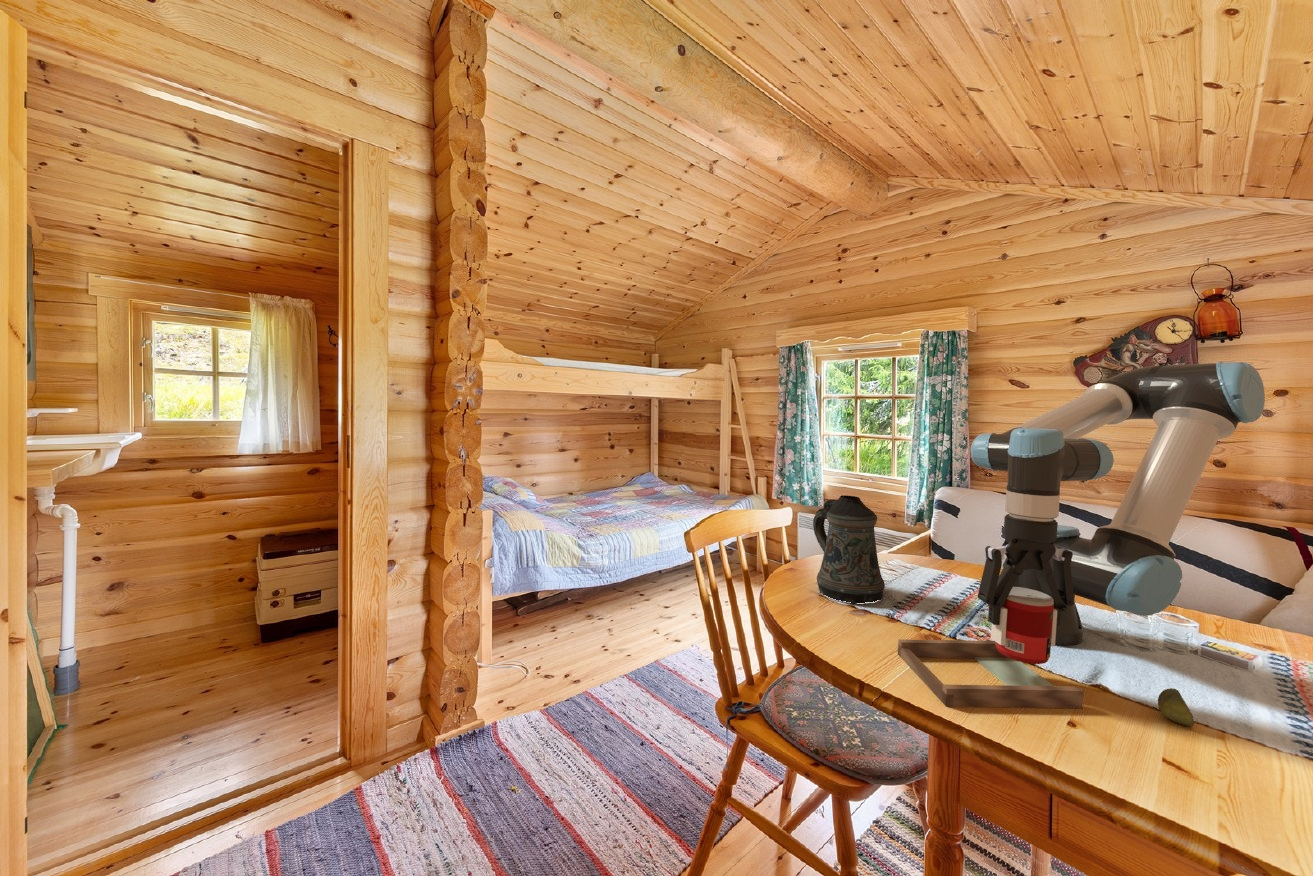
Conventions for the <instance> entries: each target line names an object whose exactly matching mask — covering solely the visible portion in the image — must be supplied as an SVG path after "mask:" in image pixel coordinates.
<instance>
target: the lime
mask: <svg viewBox="0 0 1313 876" xmlns="http://www.w3.org/2000/svg"><path fill="white" fill-rule="evenodd" d="M1157 705H1158V710H1159V711H1160V712H1161V714H1163V715H1164V717H1166V718H1168V719H1169V720H1171V721H1173V722H1175V723H1177V724H1179V723H1180V724H1179V725H1181V724H1182V725H1181V726H1185V725H1186V727H1193V726H1195V720H1194V715H1193V714H1192V712H1191V710H1190V709H1189V707H1188V704H1187V703H1186V701H1185V700H1184V698H1183V696H1182V694H1181V692H1180V691H1179V690H1178V689H1177V688H1170V687H1169V688H1165V689H1164V690H1162V691H1161V692H1160V694H1159V695H1158V698H1157Z"/></svg>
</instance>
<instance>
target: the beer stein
mask: <svg viewBox="0 0 1313 876" xmlns="http://www.w3.org/2000/svg"><path fill="white" fill-rule="evenodd" d="M826 520H827V522H828V530H827V533H826V529H825V521H826ZM877 521H878V516H877V515H876V513H875V512H874V511H873V510H872V509H871V508H870V507H868V506H866V505H865V504H864V502H862V500H861V498H860V497H859V496H855V495H854V496H853V495H844V494H843V495H839V497H838V498H837V499H827V500H826V501H825V502H824V503H823V508H819V509H818V510H817V511H816V512H815V515H814V517H813V521H812V528H813V533H814V535H815V539H816V541H817V543H818V545H819V547H820V548H821V549H822V551H823V556H822V561H821V563H820V564H821V565H820V568H819V571H818V572H817V575H816V583H817V587H818V591H820V592H821V593H822V594H823V595H822V594H821V593H820V592H819V593H820V594H821V595H822V596H824V595H826V596H828V597H830V598H833V599H836V600H841V601H846V602H851V603H865V602H873V601H874V602H875V601H877V600H881V599H882V598H883V597H884V590H885V587H886V584H885V581H884V579H883V577H882V574H881V569H880V564H879V558H878V551H877V544H876V535H875V526H876V524H877ZM826 596H825V597H826ZM830 598H829V599H830ZM833 599H832V600H833ZM836 600H835V601H836ZM881 601H882V600H881Z"/></svg>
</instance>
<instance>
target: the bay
mask: <svg viewBox="0 0 1313 876" xmlns="http://www.w3.org/2000/svg"><path fill="white" fill-rule="evenodd" d="M897 642H898V643H897V644H898V645H897V655H898V656H899V657H900V658H901V659H902V660H903V661H904V663H905V664H906V665H907V666H908V667H909V668H910V670H912V671H913V672H914V673H915V675H917V677H918V678H919V679H920V680H921V681H922V682H923V683H924V685H926V686H927V687H928V688H929V690H930V691H931V692H932V693H933V694H934V695H935V696H936V698H938V699H939V701H940V702H941V703H942V704H943V705H944V706H945V707H960V708H961V707H963V708H964V707H965V708H966V707H967V708H968V707H969V708H970V707H971V708H975V707H976V708H982V707H983V708H1019V709H1020V708H1026V709H1027V708H1028V709H1029V708H1030V709H1032V708H1034V709H1035V708H1036V709H1081V710H1082V709H1083V704H1084V694H1085V693H1084V690H1083V689H1082V688H1081V687H1079V686H1064V685H1063V686H1060V685H1059V686H1057V685H1053V684H1052V683H1051V682H1049V681H1048V680H1047V679H1045V678H1044V677H1043V676H1041V675H1040V674H1039V673H1037V672H1036V671H1034V670H1033V669H1031V668H1030V667H1029V666H1027V665H1026V664H1025V663H1024V662H1020V661H1017V660H1014V659H1011V658H1009V657H1006V656H1004V655H1003V654H1001V653H1000V652H999V651H998V650H997V648H996V645H995V641H994V640H967V639H966V640H965V639H964V640H963V639H962V640H959V639H957V640H956V639H955V640H954V639H949V640H948V639H900V638H899V639H898V641H897ZM920 658H921V659H923V658H925V659H926V658H927V659H932V658H934V659H935V658H936V659H974V660H975V662H977V663H978V664H979V665H981V666H982V667H983V668H985V670H987V671H988V672H989V673H990V674H991V675H993V676H994V677H996V678H997V680H999V682H1002V685H1000V684H999V685H998V684H944V683H943V682H942V681H941V679H939V678H938V677H937V676H936V675H935V674H934V673H933V672H932V671H931V670H930V669H929V668H928V667H927V666H926V665H925V664H924V662H922V661H921V659H920ZM1003 684H1004V685H1003Z"/></svg>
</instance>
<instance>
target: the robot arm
mask: <svg viewBox="0 0 1313 876" xmlns="http://www.w3.org/2000/svg"><path fill="white" fill-rule="evenodd" d="M1265 393H1266V392H1265V387H1264V382H1263V380H1262V377H1261V375H1260V373H1259V371H1258V369H1256V368H1255V367H1254V366H1253V365H1252V364H1250V363H1247V362H1243V361H1237V362H1236V361H1235V362H1234V361H1233V362H1232V361H1230V362H1225V361H1217V362H1214V363H1213V362H1212V363H1210V362H1209V363H1208V362H1207V363H1191V364H1190V363H1189V364H1186V363H1185V364H1167V365H1150V366H1144V367H1143V366H1142V367H1140V368H1139V367H1138V368H1135V369H1132V370H1128V371H1125V372H1122V373H1119V374H1117V375H1113V376H1111V377H1109V378H1106V379H1104V380H1101V381H1099V382H1097V383H1095V384H1092V385H1091V386H1089V387H1087V389H1085V391H1084V392H1083V394H1082V395H1081V396H1079V397H1077V398H1074V399H1073V400H1070V401H1069V402H1066V403H1063V404H1061V405H1060V406H1058V407H1055V408H1053V409H1051V410H1049V411H1047V412H1045V413H1042V414H1041V415H1039V416H1037V417H1034V418H1032V419H1030V420H1028V421H1026V422H1024V423H1022V424H1020V425H1018V426H1016V427H1014V428H1012V429H1009V430H1007V431H1005V432H1002V433H995V432H991V433H981V434H979V435H977V436H976V437H975V438H974V440H973V441H972V442H971V446H970V456H971V459H972V462H973V463H974V464H975V466H977V467H979V468H981V469H982V468H983V469H986V470H987V469H988V470H991V471H993V472H995V471H996V472H997V471H998V472H1005V473H1007V484H1006V489H1005V491H1006V492H1005V509H1004V510H1005V512H1007V514H1006V515H1005V516H1004V519H1003V520H1004V522H1003V535H1004V541H1003V543H1002V544H1001V546H995V547H993V546H990V545H987V546H986V547H985V549H984V550H985V562H984V563H985V564H984V567H983V572H982V575H981V580H980V585H979V588H978V593H977V599H979V600H980V601H982V602H983V603H985V604H987V605H988V616H987V619H988V622H989V623H991V630H990V638H991V640H992V641H996V642H997V643H998V644H1000V645H1005V639H1006V623H1007V609H1006V608H1004V607H1003V605H1004V603H1005V601H1006V599H1007V597H1008V595H1009V593H1010V591H1011V589H1012V588H1013V587H1021V588H1027V589H1032V590H1036V591H1039V592H1042V593H1045V594H1047V595H1049V596H1051V597H1052V598H1053V600H1054V612H1053V625H1052V638H1051V647H1056V645H1060V646H1073V645H1079V644H1080V643H1082V642H1083V641H1084V627H1083V624H1082V620H1081V617H1080V614H1079V610H1078V607H1077V604H1076V598H1075V597H1076V596H1077V597H1080V598H1083V599H1086V600H1089V601H1092V602H1096V603H1099V604H1102V605H1104V606H1107V607H1110V608H1112V609H1114V610H1115V611H1120V612H1125V613H1126V612H1127V613H1130V614H1133V615H1137V616H1145V617H1146V616H1147V617H1148V616H1153V615H1156V614H1159V613H1162V611H1164V610H1165V609H1167V608H1168V607H1169V606H1170V605H1171V604H1172V603H1173V602H1174V600H1175V599H1176V598H1177V595H1178V594H1179V592H1180V589H1181V587H1182V582H1181V581H1182V579H1183V570H1182V568H1181V566H1180V564H1179V563H1178V562H1177V561H1176V560H1175V559H1176V553H1175V552H1174V550H1173V549H1172V547H1171V546H1170V545H1169V543H1170V542H1171V539H1172V537H1173V535H1174V533H1175V531H1176V529H1177V527H1178V525H1179V523H1180V520H1181V519H1182V516H1183V514H1184V511H1185V510H1186V509H1187V508H1186V507H1187V506H1188V504H1189V502H1190V500H1191V497H1192V495H1193V493H1194V491H1195V489H1196V487H1197V486H1198V482H1199V481H1200V479H1201V476H1202V474H1203V472H1204V469H1205V468H1206V466H1207V463H1208V461H1209V460H1210V457H1211V456H1212V454H1213V451H1214V449H1215V447H1216V445H1217V443H1218V441H1220V440H1222V439H1223V440H1224V439H1227V438H1230V437H1231V436H1232V435H1233V434H1234V432H1235V431H1236V429H1237V427H1238V425H1239V423H1241V424H1248V423H1254V422H1255V421H1257V420H1259V419H1260V417H1261V416H1262V414H1263V412H1264V407H1265V401H1266V396H1265V395H1266V394H1265ZM1129 420H1153V422H1154V423H1155V425H1156V426H1157V429H1156V430H1155V433H1154V434H1153V437H1152V439H1151V440H1150V443H1149V445H1148V447H1147V448H1146V451H1145V453H1144V455H1143V457H1142V459H1141V461H1140V464H1139V465H1138V467H1137V469H1136V471H1135V473H1134V475H1133V477H1132V480H1131V481H1130V483H1129V485H1128V488H1127V489H1126V492H1125V493H1124V495H1123V497H1122V500H1121V502H1120V504H1119V506H1118V508H1117V510H1116V512H1115V513H1114V516H1113V518H1112V520H1111V522H1110V523H1109V524H1107V525H1103V526H1099V527H1097V528H1096V530H1095V532H1094V534H1093V536H1092V538H1090V539H1089V538H1083V537H1081V533H1080V529H1079V528H1078V527H1074V526H1071V525H1063V524H1059V523H1058V521H1057V520H1056V519H1057V518H1058V517H1059V515H1060V500H1061V499H1060V498H1061V496H1060V495H1061V494H1060V491H1061V482H1079V481H1080V482H1088V481H1092V480H1099V479H1100V478H1104V477H1105V476H1106V475H1108V474H1109V473H1110V472H1111V470H1112V469H1113V467H1114V466H1113V465H1114V462H1115V460H1114V455H1113V452H1112V450H1111V448H1110V447H1109V446H1108V445H1107V444H1106V443H1104V442H1102V441H1099V440H1097V439H1090V438H1081V437H1083V436H1086V435H1088V434H1090V433H1092V432H1094V431H1095V430H1098V429H1099V428H1102V427H1103V426H1105V425H1109V426H1110V425H1117V424H1121V423H1123V422H1124V421H1129ZM1004 555H1005V556H1006V557H1004ZM1003 560H1004V562H1003ZM1001 569H1002V570H1001Z"/></svg>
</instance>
